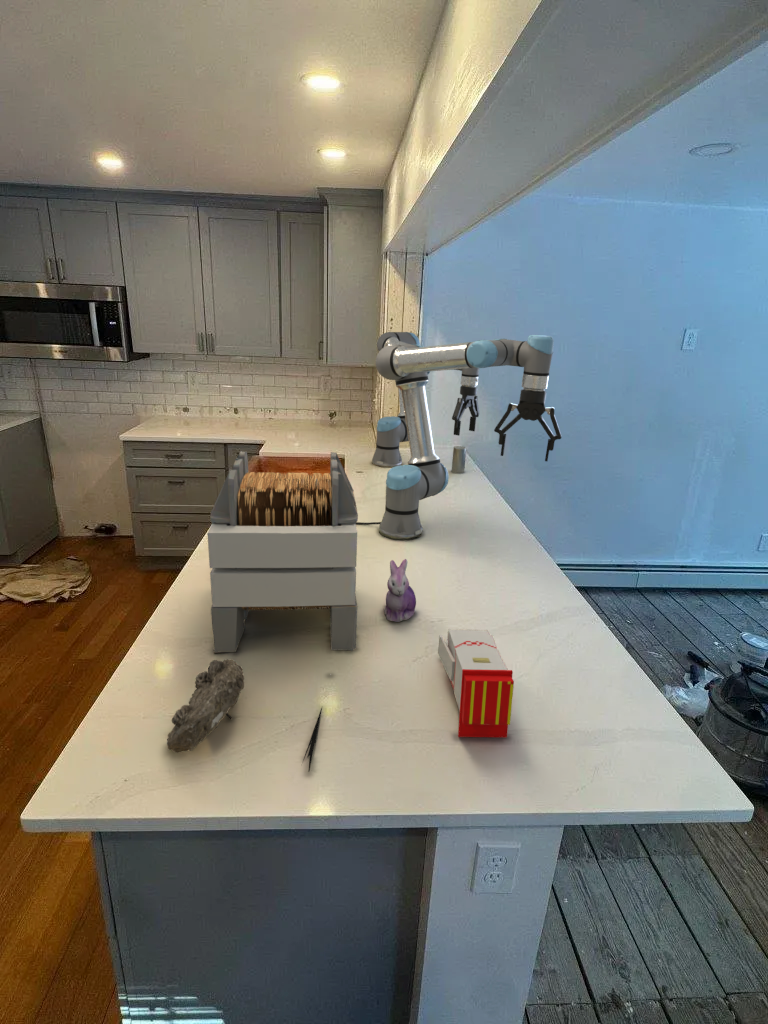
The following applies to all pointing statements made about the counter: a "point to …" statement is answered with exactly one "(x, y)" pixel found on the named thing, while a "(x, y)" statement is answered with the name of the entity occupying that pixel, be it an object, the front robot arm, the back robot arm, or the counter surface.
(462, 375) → the back robot arm
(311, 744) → the feather
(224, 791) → the counter surface
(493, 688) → the toy
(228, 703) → the fossil
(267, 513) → the file storage bin
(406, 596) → the figurine
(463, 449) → the tin
